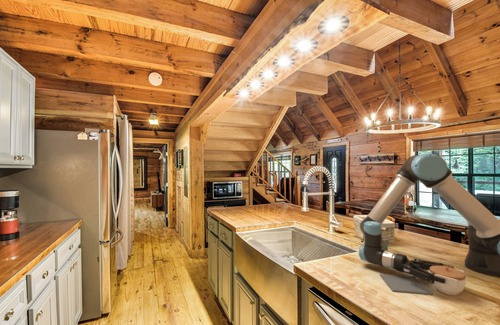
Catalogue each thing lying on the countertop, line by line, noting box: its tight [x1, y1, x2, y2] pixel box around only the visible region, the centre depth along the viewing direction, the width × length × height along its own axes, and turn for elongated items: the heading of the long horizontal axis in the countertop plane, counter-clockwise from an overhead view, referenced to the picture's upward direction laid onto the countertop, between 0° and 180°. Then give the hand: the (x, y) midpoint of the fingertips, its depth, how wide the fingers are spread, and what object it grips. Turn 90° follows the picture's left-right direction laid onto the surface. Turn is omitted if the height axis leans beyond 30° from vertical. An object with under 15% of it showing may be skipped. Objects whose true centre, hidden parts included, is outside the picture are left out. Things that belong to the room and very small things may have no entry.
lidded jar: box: [429, 266, 467, 296], centre depth 91 cm, size 11×11×9 cm
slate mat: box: [379, 273, 434, 296], centre depth 97 cm, size 14×14×1 cm
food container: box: [382, 237, 389, 251], centre depth 126 cm, size 12×6×10 cm, turn 168°
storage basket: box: [352, 214, 396, 247], centre depth 155 cm, size 24×16×15 cm
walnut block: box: [443, 263, 455, 269], centre depth 105 cm, size 4×4×4 cm
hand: (460, 279), depth 88 cm, fingers closed on lidded jar, 11 cm apart
